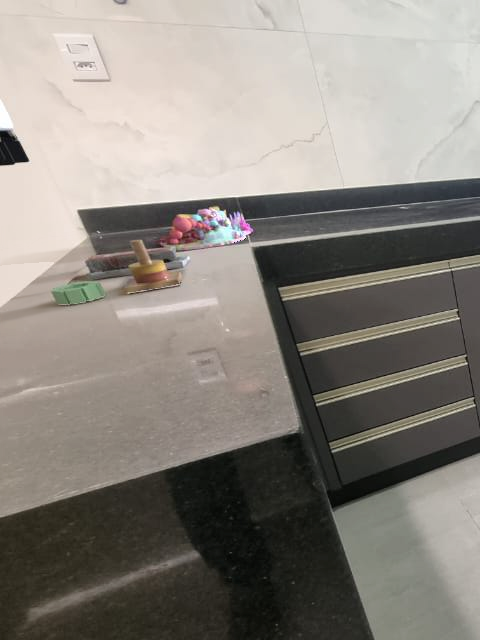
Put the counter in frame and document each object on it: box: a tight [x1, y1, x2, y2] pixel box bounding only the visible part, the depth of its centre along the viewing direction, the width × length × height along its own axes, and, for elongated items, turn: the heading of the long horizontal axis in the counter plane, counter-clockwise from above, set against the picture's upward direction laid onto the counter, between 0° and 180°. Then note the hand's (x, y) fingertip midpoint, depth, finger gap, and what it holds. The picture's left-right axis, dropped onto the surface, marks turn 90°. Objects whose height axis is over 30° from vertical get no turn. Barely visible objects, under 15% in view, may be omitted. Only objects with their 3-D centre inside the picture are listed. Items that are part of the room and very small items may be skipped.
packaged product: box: [84, 247, 191, 281], centre depth 129 cm, size 18×5×10 cm
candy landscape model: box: [155, 205, 254, 252], centre depth 158 cm, size 25×24×9 cm
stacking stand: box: [123, 239, 183, 294], centre depth 114 cm, size 9×9×10 cm
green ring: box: [50, 280, 106, 305], centre depth 108 cm, size 7×7×3 cm
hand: (11, 164), depth 101 cm, fingers open, 9 cm apart
